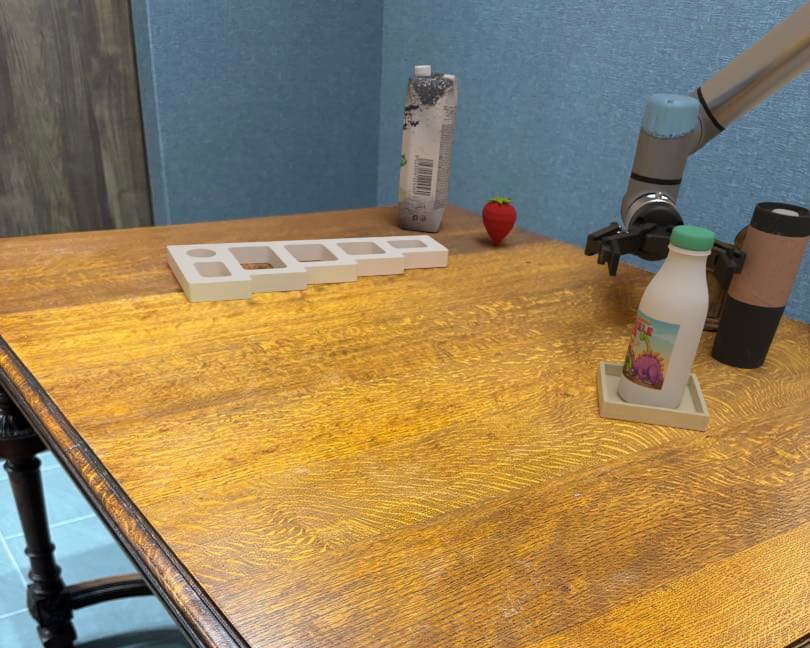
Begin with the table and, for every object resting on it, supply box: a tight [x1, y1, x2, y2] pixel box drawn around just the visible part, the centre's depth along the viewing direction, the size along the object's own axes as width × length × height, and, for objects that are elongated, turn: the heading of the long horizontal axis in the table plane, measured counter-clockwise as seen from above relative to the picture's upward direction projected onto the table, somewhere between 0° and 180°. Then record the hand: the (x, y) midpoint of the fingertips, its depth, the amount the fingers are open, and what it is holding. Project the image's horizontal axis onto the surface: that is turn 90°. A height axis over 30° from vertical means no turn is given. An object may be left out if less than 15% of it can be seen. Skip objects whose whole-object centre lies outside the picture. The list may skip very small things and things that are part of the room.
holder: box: [166, 234, 450, 303], centre depth 129 cm, size 45×18×3 cm, turn 113°
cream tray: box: [596, 360, 711, 432], centre depth 99 cm, size 12×12×2 cm
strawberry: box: [481, 187, 518, 246], centre depth 148 cm, size 6×8×10 cm
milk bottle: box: [618, 224, 716, 409], centre depth 94 cm, size 8×8×20 cm
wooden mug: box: [703, 223, 750, 332], centre depth 119 cm, size 9×14×18 cm, turn 12°
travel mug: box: [710, 201, 810, 369], centre depth 108 cm, size 8×8×20 cm
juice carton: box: [397, 65, 458, 233], centre depth 150 cm, size 9×10×27 cm
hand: (671, 271), depth 99 cm, fingers open, 13 cm apart
